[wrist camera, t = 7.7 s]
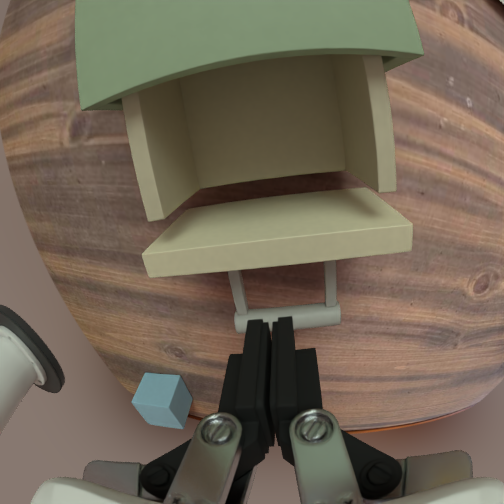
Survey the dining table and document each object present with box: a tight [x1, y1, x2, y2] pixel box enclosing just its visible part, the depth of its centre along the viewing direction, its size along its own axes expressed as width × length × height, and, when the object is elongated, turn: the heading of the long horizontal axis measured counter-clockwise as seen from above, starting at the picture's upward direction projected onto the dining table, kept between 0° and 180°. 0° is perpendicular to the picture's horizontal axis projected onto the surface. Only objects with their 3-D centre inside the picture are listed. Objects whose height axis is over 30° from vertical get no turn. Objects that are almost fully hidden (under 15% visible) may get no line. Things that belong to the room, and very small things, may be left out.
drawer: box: [122, 54, 413, 334], centre depth 12 cm, size 19×11×7 cm, turn 9°
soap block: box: [132, 373, 193, 429], centre depth 25 cm, size 4×4×4 cm
